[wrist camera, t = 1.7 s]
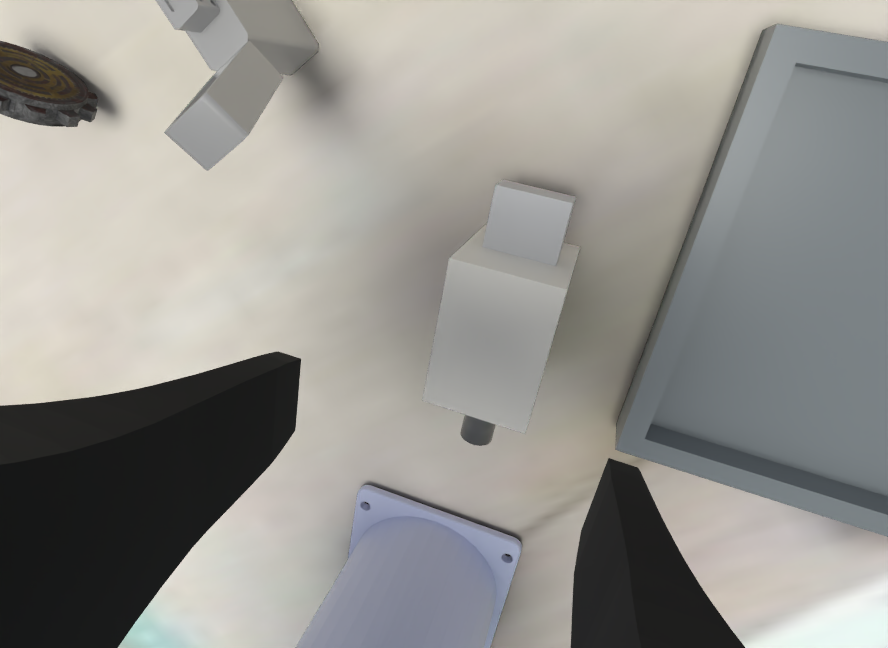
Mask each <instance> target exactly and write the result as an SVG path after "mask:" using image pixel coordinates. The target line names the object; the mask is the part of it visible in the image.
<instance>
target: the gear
mask: <svg viewBox="0 0 888 648" xmlns="http://www.w3.org/2000/svg"><path fill="white" fill-rule="evenodd" d="M97 101H98V99H97V97H96V95H95V94H94V93H91V92H89V91H88V89H87V87H86V85H85V84H84V82H83V81H82V80H81V79H80V78H78V77H77V76H76V75H75V74H74V73H72V72H71V71H70V70H68V69H67V68H65V67H64V66H62V65H60V64H58V63H57V62H55V61H53V60H51V59H49V58H47V57H45V56H43V55H41V54H38V53H36V52H34V51H31V50H29V49H26V48H23V47H20V46H17V45H14V44H10V43H7V42H3V41H0V114H2V115H5V116H8V117H11V118H14V119H17V120H21V121H24V122H28V123H33V124H38V125H45V126H66V127H77V126H78V122H79V121H80V120H82V119H83V120H86V121H88V122H91V121H92V120H94V119H95V115H96V112H97V109H96V105H97Z"/></svg>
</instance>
